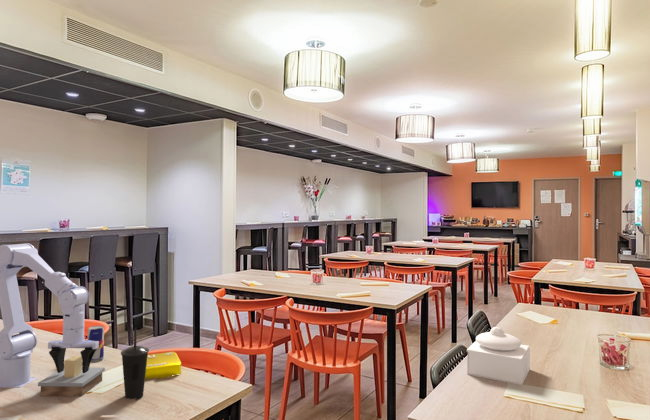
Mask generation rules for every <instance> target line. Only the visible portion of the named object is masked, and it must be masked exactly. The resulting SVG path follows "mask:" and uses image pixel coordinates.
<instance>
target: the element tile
mask: <svg viewBox="0 0 650 420" xmlns="http://www.w3.org/2000/svg"><path fill="white" fill-rule="evenodd" d="M180 373H181V374H182V361H181V359H180V358H179V356H178V354H177V353H176V352H175V351H169V352H160V353H152V354H148V356H147V365H146V374H145V380H151V379H155V378H156V380H159V378H160V379H165V378H164V377H167V378H170V377H169V376H172V375H177V374H180ZM181 374H180V375H181Z"/></svg>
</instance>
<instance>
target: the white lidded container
mask: <svg viewBox="0 0 650 420" xmlns="http://www.w3.org/2000/svg"><path fill="white" fill-rule="evenodd" d="M466 353H467V362H466V363H467V368H466V369H467V373H466V374H467V375H468V376H474V377H478V378H483V379H488V380H494V381H499V382H504V383H509V384H515V385H518V386H523V384H524V382H525V380H526V379H527V376H528V374H529V372H530V367H531V347H530V345H527V344H522V341H521V340H520V339H519V338H517V337H516V336H514V335H512V334H509V333H506V332H505V331H504V329H503V328H501V327H500V326H493V327H492V328H491V329H490V331H485V332H482V333H480V334H478V335H476V337H475V341H474V342H473V343H472V344H470V345H469V347H467V349H466Z"/></svg>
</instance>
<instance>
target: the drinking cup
mask: <svg viewBox="0 0 650 420" xmlns="http://www.w3.org/2000/svg"><path fill="white" fill-rule="evenodd" d="M137 332H138V331H137V328H133V345H132V346H129V347H127V348H125V349H123V350H121V351H120V355H121V361H122V371H123V372H122V373H123V386H124V387H123V388H124V397H125V398H126V399H129V400H134V399H135V400H134V401H137V400H139V399H141V398H143V396H144V390H145V382H146V379H145V374H146V365H147V356H148V355H149V351H150V349H149V348H148V347H145V346H142V345H137V338H138V337H137V335H138V333H137Z"/></svg>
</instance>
